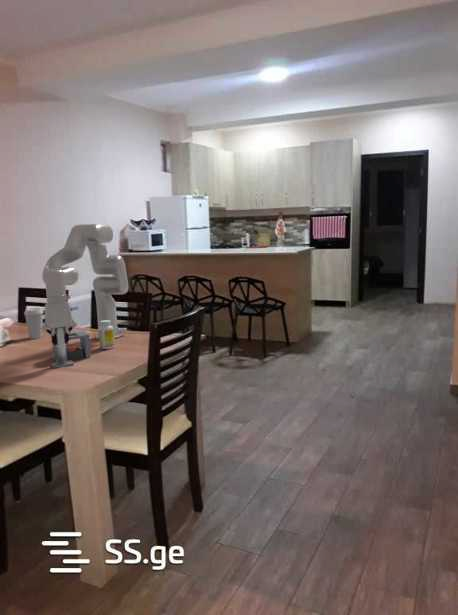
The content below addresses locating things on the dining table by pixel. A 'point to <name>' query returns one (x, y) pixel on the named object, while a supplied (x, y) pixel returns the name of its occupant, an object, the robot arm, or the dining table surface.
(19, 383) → the dining table surface
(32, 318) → the coffee cup
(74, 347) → the button
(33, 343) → the dining table surface
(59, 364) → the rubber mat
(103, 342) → the supplement bottle
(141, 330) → the dining table surface
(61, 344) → the silver metal cylinder
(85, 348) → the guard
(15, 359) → the dining table surface
